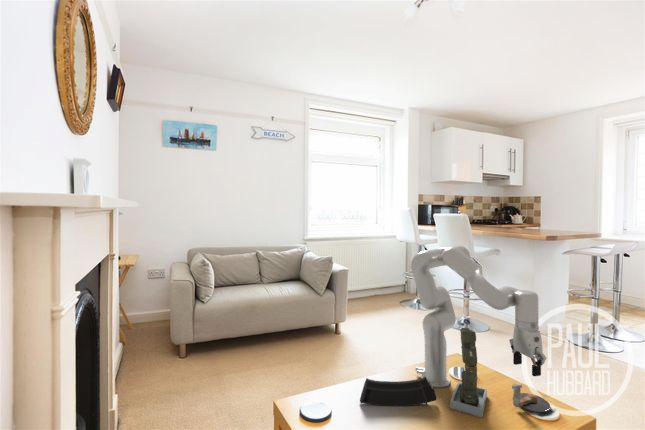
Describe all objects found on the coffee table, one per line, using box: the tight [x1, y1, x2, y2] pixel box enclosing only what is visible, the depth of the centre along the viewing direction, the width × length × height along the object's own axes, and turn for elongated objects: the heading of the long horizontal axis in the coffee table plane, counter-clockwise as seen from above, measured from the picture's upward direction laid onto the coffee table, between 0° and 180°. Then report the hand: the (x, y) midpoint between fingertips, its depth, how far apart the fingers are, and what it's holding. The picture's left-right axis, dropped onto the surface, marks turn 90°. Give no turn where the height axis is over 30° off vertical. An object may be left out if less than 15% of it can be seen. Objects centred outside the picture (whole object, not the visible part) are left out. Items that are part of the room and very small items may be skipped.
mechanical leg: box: [459, 327, 479, 407], centre depth 142 cm, size 14×7×30 cm, turn 167°
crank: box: [511, 382, 538, 408], centre depth 138 cm, size 13×4×8 cm, turn 114°
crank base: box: [519, 392, 551, 415], centre depth 140 cm, size 12×12×2 cm
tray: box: [449, 382, 488, 419], centre depth 142 cm, size 12×17×3 cm
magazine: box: [359, 376, 438, 407], centre depth 141 cm, size 17×3×30 cm
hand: (526, 369), depth 131 cm, fingers open, 9 cm apart
